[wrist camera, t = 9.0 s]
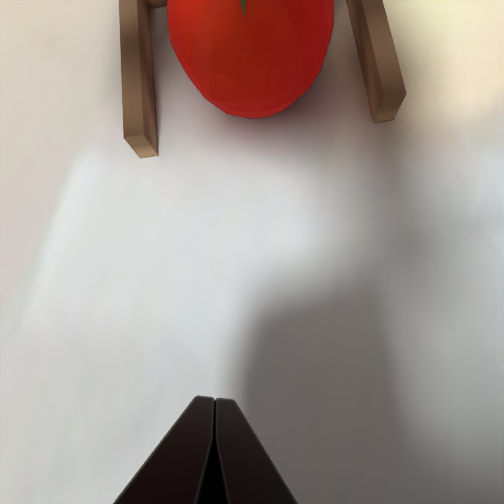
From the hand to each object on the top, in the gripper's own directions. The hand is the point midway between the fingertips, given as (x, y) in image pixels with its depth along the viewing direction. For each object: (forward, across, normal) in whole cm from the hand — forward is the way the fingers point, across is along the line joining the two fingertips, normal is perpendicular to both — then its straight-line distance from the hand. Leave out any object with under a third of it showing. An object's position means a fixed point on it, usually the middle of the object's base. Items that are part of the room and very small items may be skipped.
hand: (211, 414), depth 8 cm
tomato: (+20, -1, -10) cm, 23 cm away
